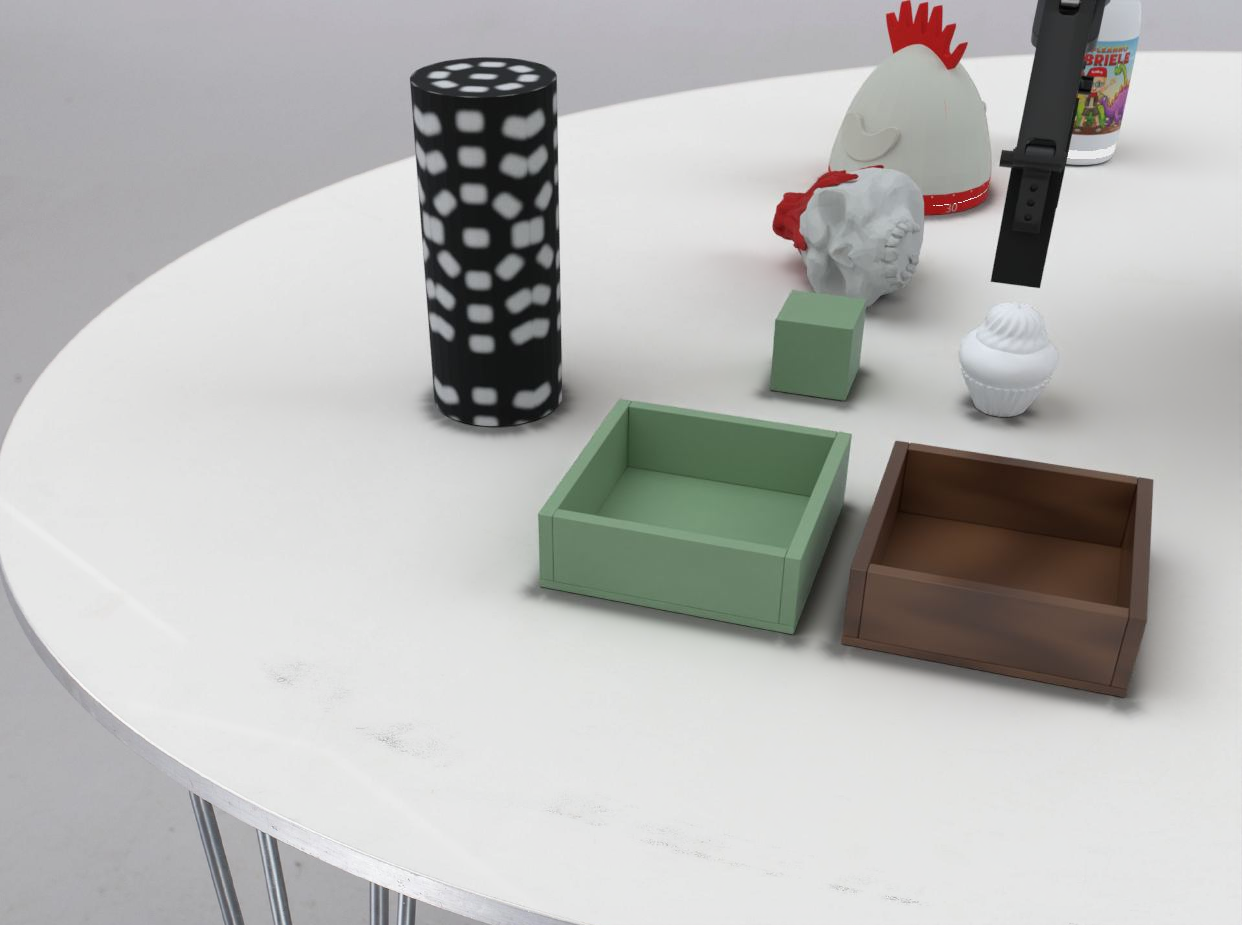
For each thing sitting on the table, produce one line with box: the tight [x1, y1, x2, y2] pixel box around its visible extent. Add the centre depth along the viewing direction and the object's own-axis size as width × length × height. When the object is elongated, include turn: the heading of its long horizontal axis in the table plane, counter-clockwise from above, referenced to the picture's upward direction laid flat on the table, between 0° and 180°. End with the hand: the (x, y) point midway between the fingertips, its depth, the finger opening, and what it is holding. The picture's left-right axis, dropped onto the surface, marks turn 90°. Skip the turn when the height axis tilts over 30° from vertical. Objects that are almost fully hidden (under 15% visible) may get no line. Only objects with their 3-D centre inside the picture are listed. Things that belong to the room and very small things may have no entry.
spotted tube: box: [409, 56, 563, 427], centre depth 87 cm, size 8×8×20 cm
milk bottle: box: [1066, 0, 1143, 166], centre depth 127 cm, size 8×8×20 cm
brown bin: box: [840, 440, 1154, 698], centre depth 73 cm, size 14×14×4 cm
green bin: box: [537, 398, 853, 635], centre depth 78 cm, size 14×14×4 cm
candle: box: [771, 165, 925, 308], centre depth 106 cm, size 9×11×15 cm
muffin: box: [958, 301, 1060, 418], centre depth 90 cm, size 6×6×7 cm
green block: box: [769, 289, 867, 402], centre depth 94 cm, size 5×5×5 cm
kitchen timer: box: [827, 0, 993, 216], centre depth 121 cm, size 14×14×15 cm
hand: (1026, 241), depth 85 cm, fingers open, 13 cm apart
